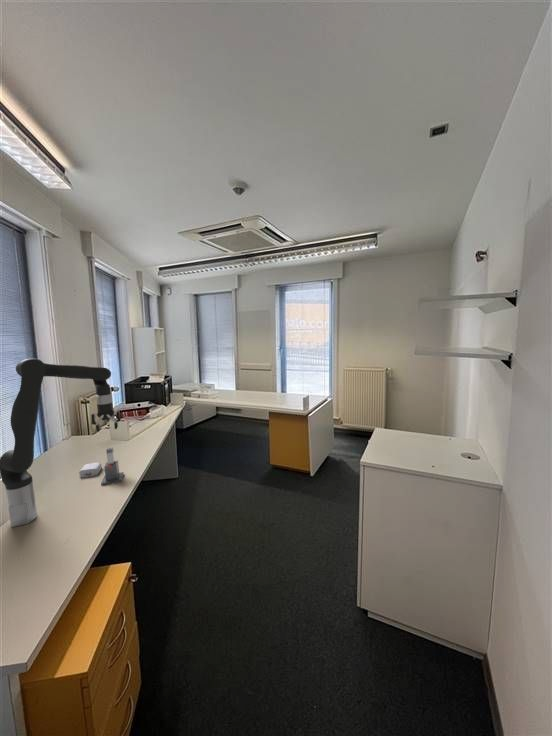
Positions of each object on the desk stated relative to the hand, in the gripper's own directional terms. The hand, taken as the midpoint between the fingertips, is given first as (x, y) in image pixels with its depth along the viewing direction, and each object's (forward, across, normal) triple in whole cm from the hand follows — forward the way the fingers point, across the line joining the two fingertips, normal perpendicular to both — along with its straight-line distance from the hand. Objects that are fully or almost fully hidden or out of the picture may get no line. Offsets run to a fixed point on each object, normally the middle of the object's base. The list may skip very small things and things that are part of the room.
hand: (107, 429), depth 165 cm
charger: (+31, -14, +18) cm, 38 cm away
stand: (+30, 0, 0) cm, 30 cm away
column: (+28, 0, 0) cm, 28 cm away
